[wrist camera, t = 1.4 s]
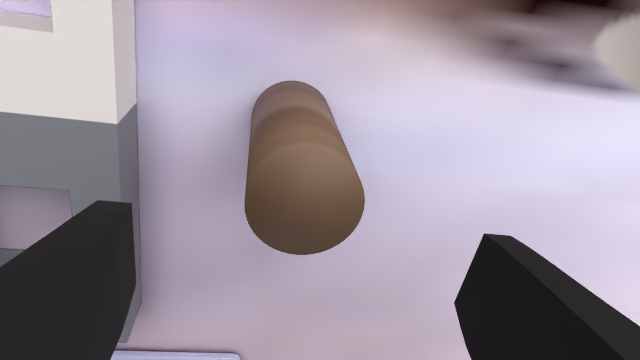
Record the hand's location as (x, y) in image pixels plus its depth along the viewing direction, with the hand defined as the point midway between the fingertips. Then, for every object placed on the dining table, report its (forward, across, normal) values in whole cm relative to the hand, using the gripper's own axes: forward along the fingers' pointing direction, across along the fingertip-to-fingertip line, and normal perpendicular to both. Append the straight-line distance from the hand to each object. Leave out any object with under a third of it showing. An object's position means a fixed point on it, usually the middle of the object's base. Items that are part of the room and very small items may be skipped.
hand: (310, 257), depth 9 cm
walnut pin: (+10, 0, +1) cm, 10 cm away
